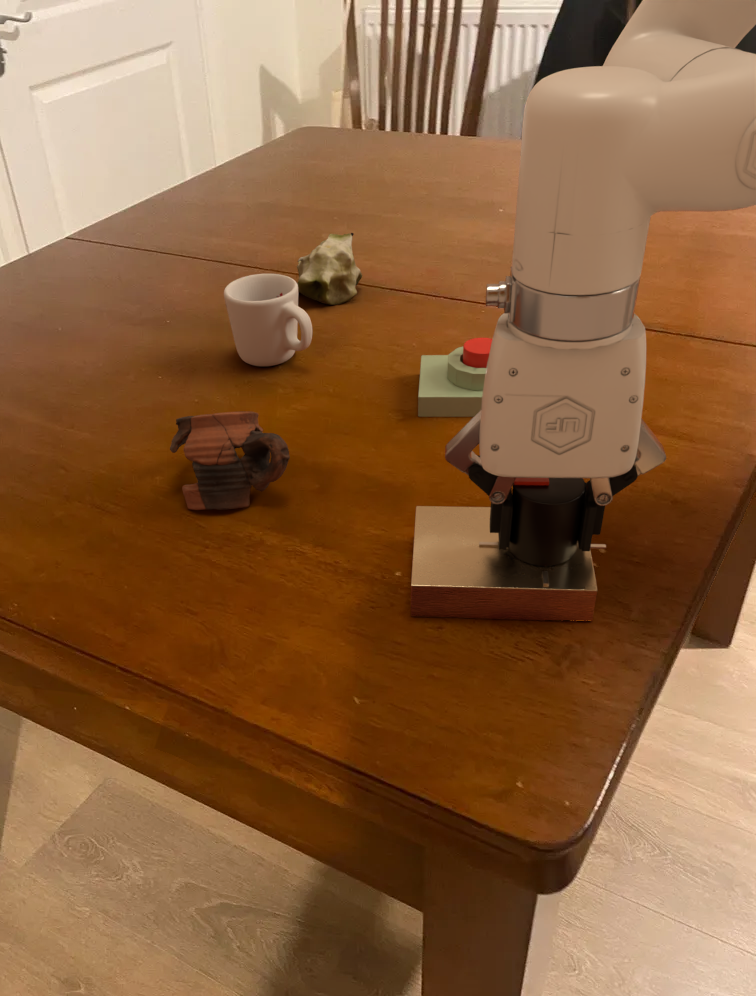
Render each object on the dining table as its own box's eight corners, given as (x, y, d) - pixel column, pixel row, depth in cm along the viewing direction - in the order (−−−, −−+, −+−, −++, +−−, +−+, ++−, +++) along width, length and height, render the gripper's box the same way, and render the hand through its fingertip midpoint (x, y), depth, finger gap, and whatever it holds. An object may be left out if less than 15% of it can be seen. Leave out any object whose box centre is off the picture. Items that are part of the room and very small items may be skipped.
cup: (336, 359, 101) (333, 288, 96) (286, 387, 97) (280, 315, 91) (267, 335, 107) (260, 267, 101) (217, 361, 102) (207, 291, 97)
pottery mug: (154, 514, 81) (144, 419, 80) (216, 503, 89) (208, 417, 88) (268, 509, 75) (259, 406, 74) (324, 498, 83) (317, 406, 82)
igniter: (537, 373, 95) (541, 337, 92) (543, 417, 88) (547, 379, 86) (420, 374, 97) (421, 338, 94) (417, 417, 90) (418, 379, 87)
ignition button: (499, 353, 91) (500, 336, 90) (500, 370, 89) (501, 353, 87) (462, 353, 92) (463, 337, 91) (462, 370, 89) (463, 353, 88)
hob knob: (573, 526, 70) (582, 461, 66) (579, 567, 66) (590, 500, 62) (506, 525, 70) (512, 460, 67) (508, 565, 67) (515, 499, 63)
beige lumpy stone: (337, 285, 120) (348, 222, 115) (371, 315, 114) (384, 251, 109) (273, 288, 116) (281, 223, 111) (305, 319, 110) (315, 253, 105)
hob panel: (592, 539, 73) (598, 506, 71) (607, 622, 66) (614, 589, 64) (415, 535, 75) (416, 504, 73) (410, 616, 68) (410, 583, 66)
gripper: (429, 329, 55) (425, 568, 66) (731, 325, 52) (671, 574, 64) (432, 280, 60) (427, 508, 72) (705, 275, 58) (654, 511, 69)
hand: (542, 537), depth 68 cm, fingers closed on hob knob, 5 cm apart
